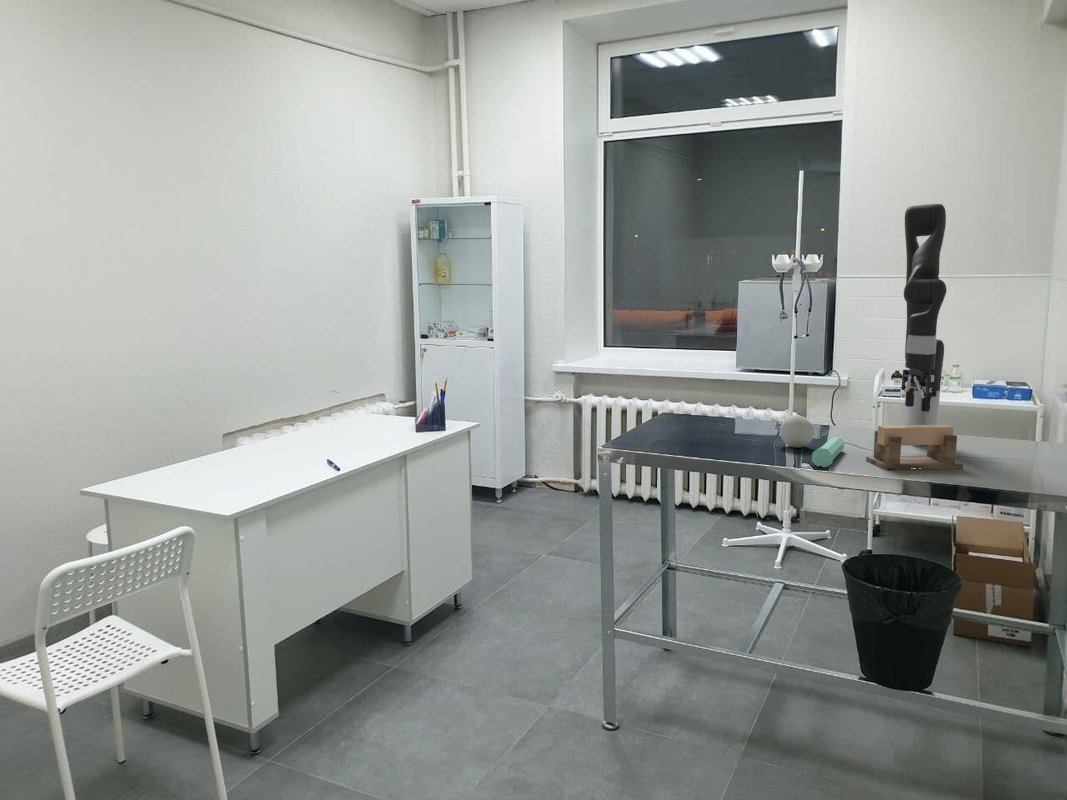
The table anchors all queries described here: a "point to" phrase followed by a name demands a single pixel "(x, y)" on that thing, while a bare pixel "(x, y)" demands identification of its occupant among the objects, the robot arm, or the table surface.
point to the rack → (933, 460)
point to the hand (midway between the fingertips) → (917, 408)
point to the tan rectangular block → (914, 434)
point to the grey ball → (796, 431)
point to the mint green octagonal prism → (827, 452)
